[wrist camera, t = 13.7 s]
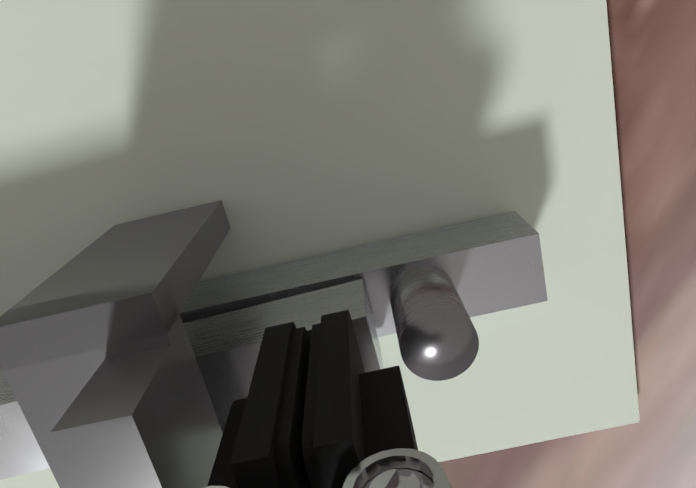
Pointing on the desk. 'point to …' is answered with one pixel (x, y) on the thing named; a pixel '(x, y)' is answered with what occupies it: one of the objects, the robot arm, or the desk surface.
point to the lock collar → (119, 357)
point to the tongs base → (408, 286)
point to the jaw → (215, 360)
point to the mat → (341, 167)
